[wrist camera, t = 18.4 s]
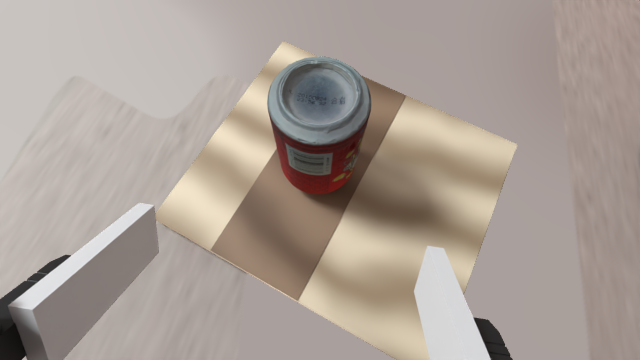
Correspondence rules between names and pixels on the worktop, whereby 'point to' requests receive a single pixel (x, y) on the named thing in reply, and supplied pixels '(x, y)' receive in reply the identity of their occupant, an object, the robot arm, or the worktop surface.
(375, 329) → the board
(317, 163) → the soda can
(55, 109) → the worktop surface
